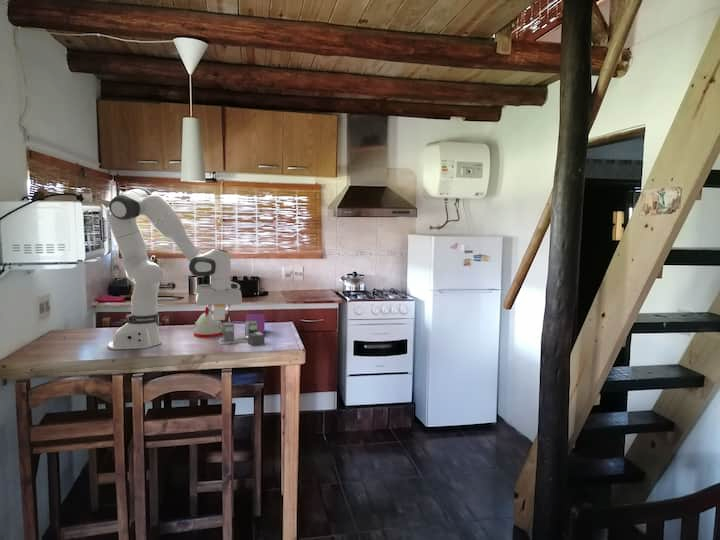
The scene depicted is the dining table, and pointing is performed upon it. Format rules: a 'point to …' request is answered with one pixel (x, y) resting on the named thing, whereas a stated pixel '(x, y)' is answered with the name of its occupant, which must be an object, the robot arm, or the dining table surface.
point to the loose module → (218, 312)
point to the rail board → (229, 333)
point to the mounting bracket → (258, 318)
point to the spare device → (256, 339)
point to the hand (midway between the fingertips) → (218, 314)
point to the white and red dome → (207, 326)
